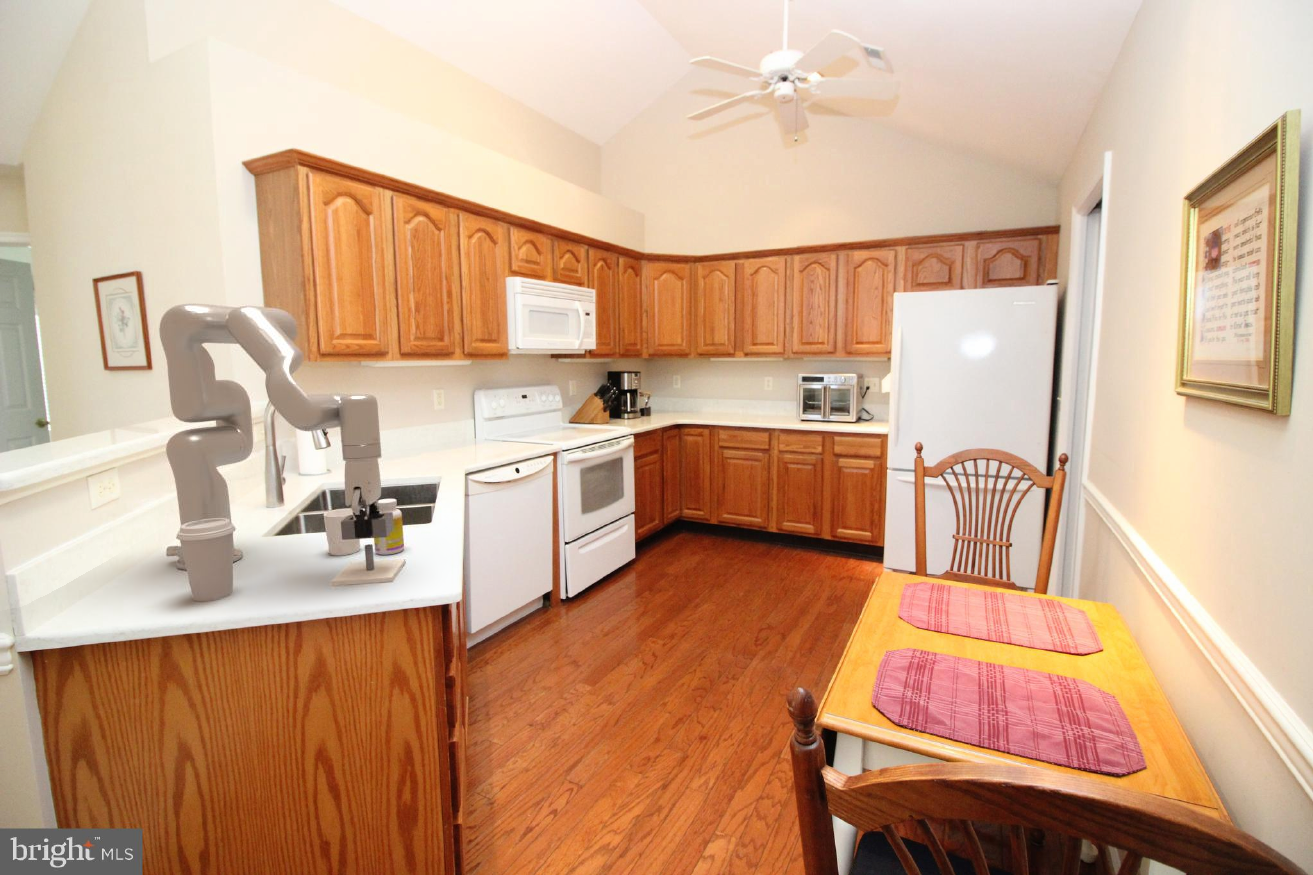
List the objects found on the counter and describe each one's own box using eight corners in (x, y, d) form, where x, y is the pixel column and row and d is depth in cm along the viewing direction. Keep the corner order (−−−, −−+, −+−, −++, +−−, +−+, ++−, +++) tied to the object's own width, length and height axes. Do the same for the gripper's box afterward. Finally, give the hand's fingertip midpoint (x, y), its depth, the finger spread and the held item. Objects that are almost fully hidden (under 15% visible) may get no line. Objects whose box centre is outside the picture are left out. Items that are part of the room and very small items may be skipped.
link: (342, 539, 129) (340, 521, 128) (351, 532, 134) (349, 514, 134) (386, 537, 130) (385, 519, 130) (393, 529, 136) (392, 512, 135)
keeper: (331, 585, 127) (329, 555, 126) (350, 566, 138) (348, 538, 137) (392, 581, 129) (390, 552, 128) (405, 563, 140) (403, 536, 139)
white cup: (369, 548, 152) (366, 509, 150) (344, 558, 144) (341, 517, 143) (345, 545, 154) (342, 507, 153) (319, 554, 147) (315, 514, 146)
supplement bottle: (409, 547, 152) (406, 497, 150) (395, 556, 146) (392, 504, 144) (384, 546, 153) (380, 497, 151) (369, 555, 146) (365, 503, 144)
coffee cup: (242, 583, 129) (235, 514, 127) (241, 597, 121) (233, 524, 119) (186, 592, 123) (178, 521, 121) (180, 608, 115) (171, 532, 113)
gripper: (356, 447, 138) (362, 523, 140) (328, 459, 121) (336, 545, 123) (390, 445, 139) (396, 521, 141) (368, 457, 122) (375, 543, 124)
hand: (368, 532), depth 132 cm, fingers closed on link, 6 cm apart
